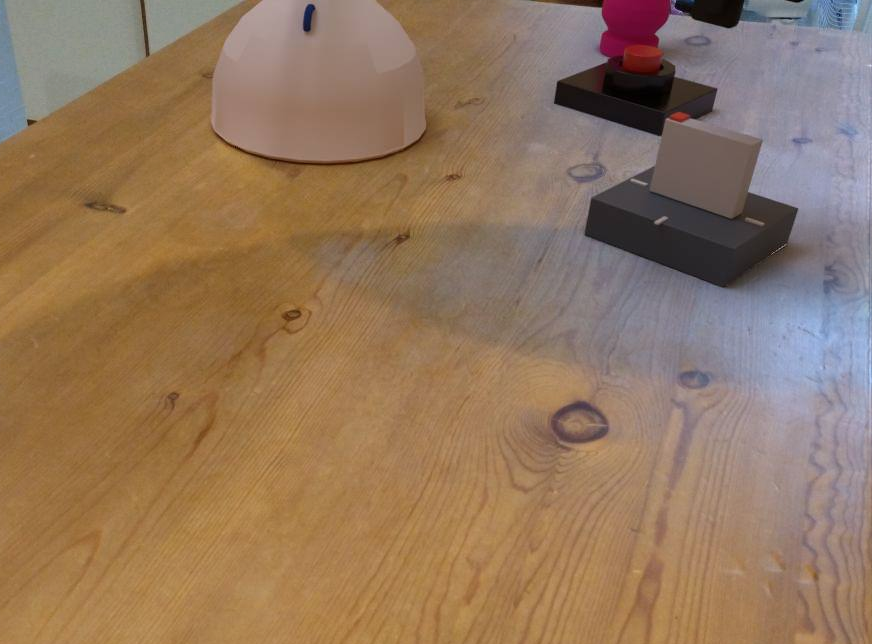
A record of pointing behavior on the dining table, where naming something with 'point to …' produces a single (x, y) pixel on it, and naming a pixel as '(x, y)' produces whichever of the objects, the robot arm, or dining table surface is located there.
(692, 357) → the dining table surface
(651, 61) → the button
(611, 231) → the dial base
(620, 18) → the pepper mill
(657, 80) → the block
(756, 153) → the upright beige slab
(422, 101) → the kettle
